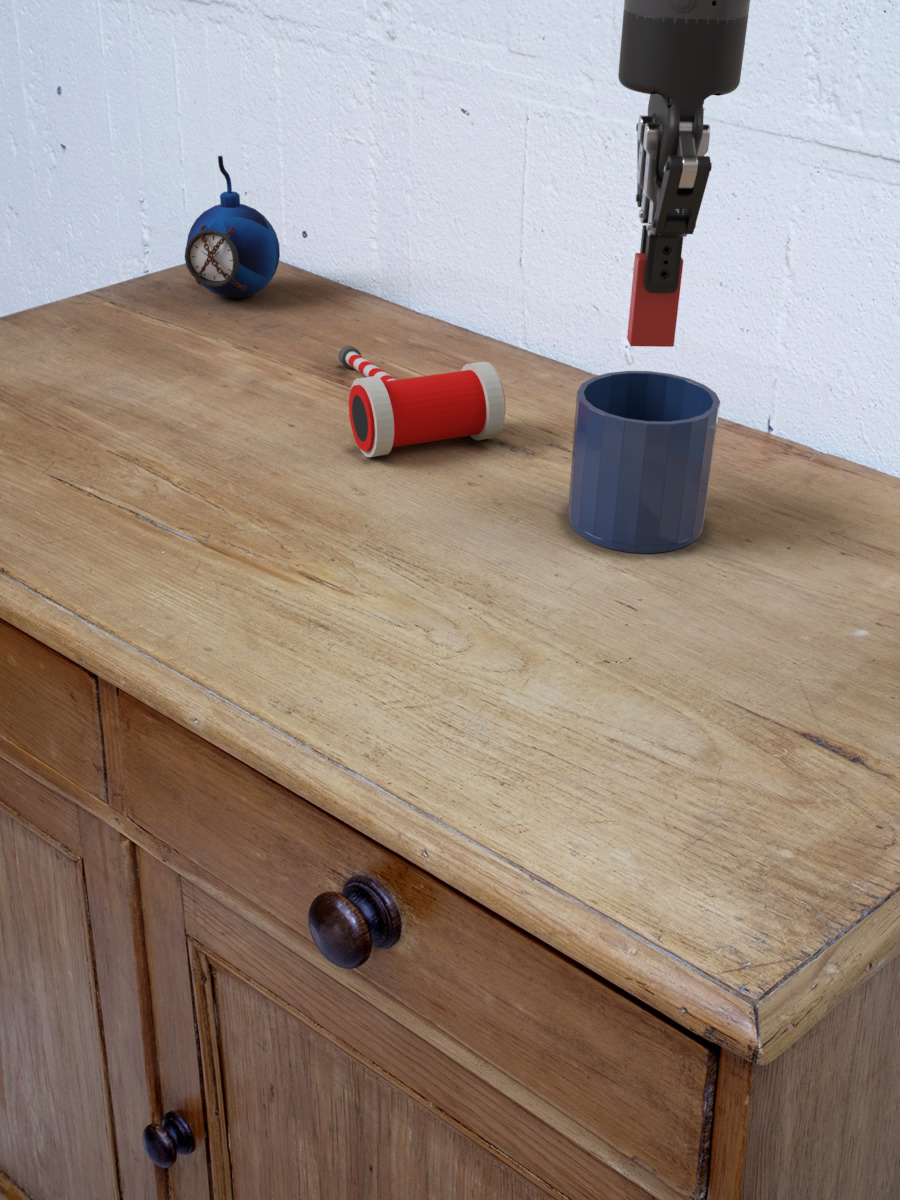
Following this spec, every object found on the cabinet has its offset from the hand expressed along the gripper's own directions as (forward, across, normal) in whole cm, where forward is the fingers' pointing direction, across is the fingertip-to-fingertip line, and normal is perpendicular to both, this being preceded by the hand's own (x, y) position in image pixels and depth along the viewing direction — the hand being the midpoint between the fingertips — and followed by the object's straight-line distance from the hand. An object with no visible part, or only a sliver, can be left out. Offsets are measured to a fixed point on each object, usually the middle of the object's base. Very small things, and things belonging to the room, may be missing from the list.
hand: (656, 285), depth 88 cm
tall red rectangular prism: (+4, 0, 0) cm, 4 cm away
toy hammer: (+18, +20, +18) cm, 32 cm away
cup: (+18, +1, 0) cm, 18 cm away
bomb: (+18, +53, +35) cm, 66 cm away
